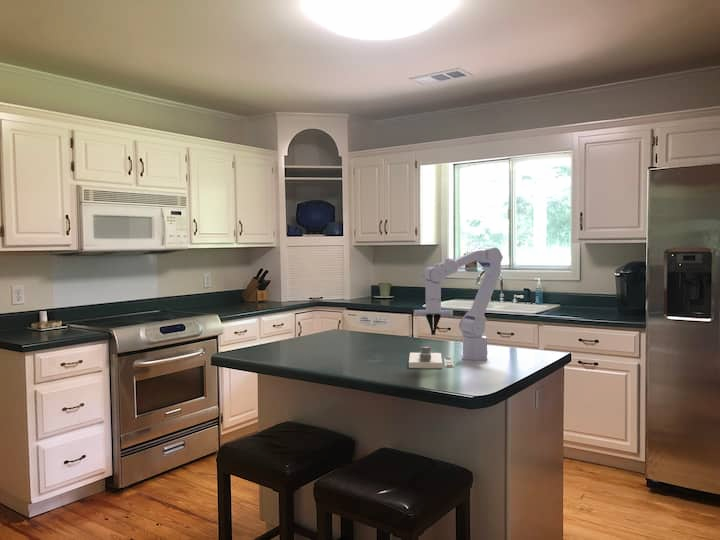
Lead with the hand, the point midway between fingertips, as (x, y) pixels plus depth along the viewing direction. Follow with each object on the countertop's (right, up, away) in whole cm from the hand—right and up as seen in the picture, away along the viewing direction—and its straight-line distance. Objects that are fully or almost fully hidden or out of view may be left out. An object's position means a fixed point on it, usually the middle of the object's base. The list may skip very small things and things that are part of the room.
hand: (433, 334), depth 221 cm
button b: (-3, -9, -1) cm, 9 cm away
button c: (-4, -11, -7) cm, 13 cm away
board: (-3, -11, -1) cm, 11 cm away
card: (+6, -11, -2) cm, 12 cm away
